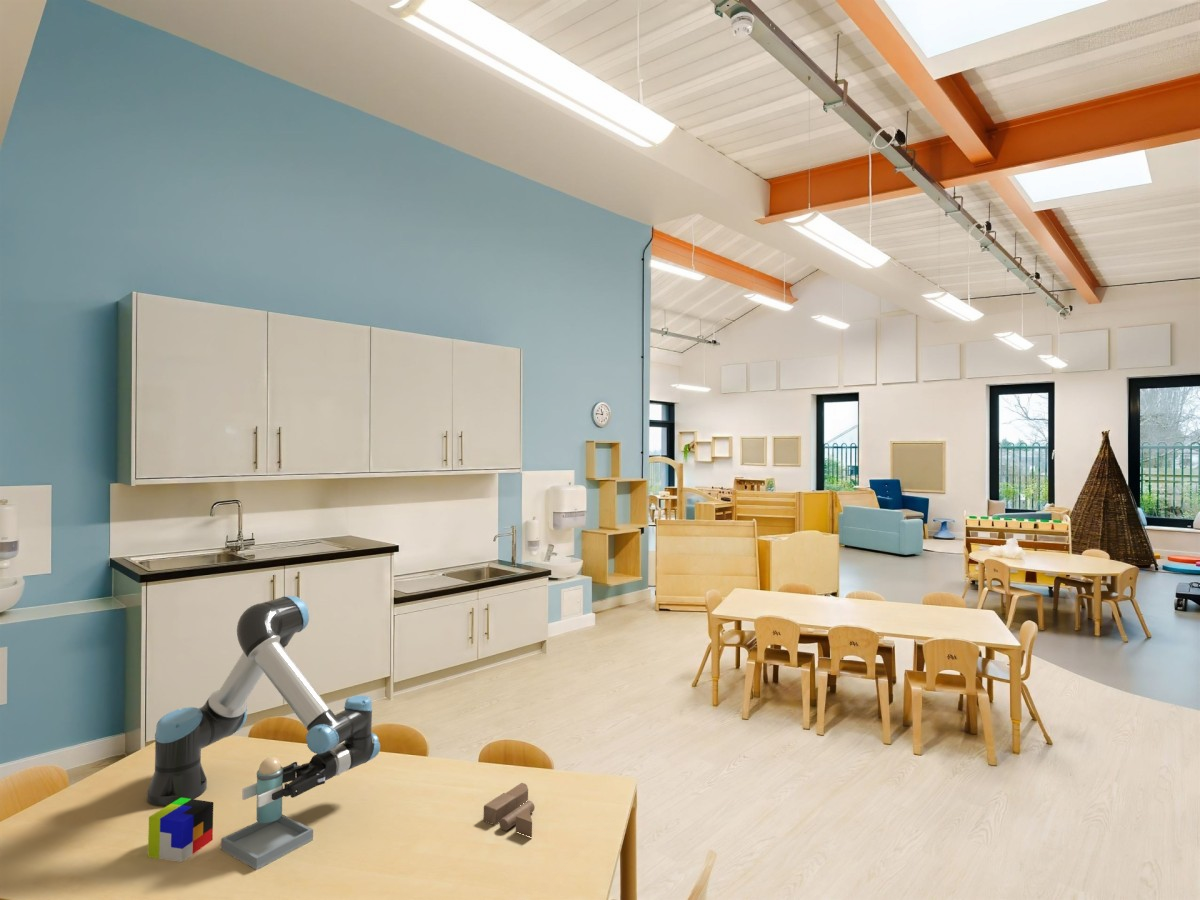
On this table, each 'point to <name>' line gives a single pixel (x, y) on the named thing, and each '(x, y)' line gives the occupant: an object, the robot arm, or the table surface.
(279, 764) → the ball tube
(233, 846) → the tray
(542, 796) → the table surface
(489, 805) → the wooden block set
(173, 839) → the puzzle toy
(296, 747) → the table surface
